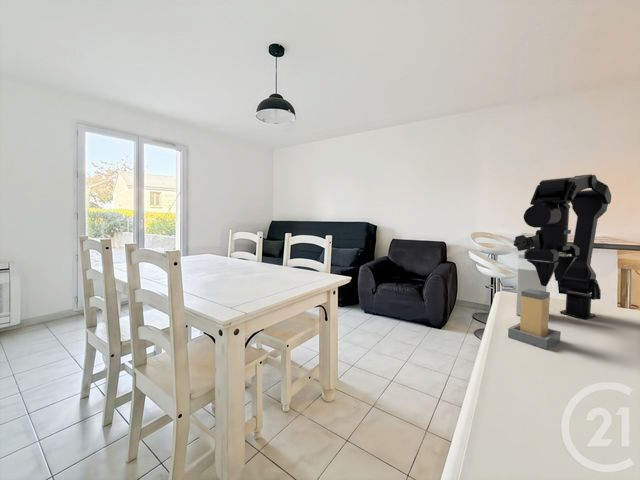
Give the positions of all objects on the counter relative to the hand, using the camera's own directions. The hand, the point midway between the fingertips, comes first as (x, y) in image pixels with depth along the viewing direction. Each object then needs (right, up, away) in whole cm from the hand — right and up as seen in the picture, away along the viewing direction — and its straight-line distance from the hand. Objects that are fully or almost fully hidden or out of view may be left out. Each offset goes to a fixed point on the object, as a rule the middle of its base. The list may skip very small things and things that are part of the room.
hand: (551, 283), depth 75 cm
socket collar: (-8, -14, -4) cm, 16 cm away
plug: (-8, -13, -4) cm, 16 cm away
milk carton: (+4, -12, +13) cm, 18 cm away
